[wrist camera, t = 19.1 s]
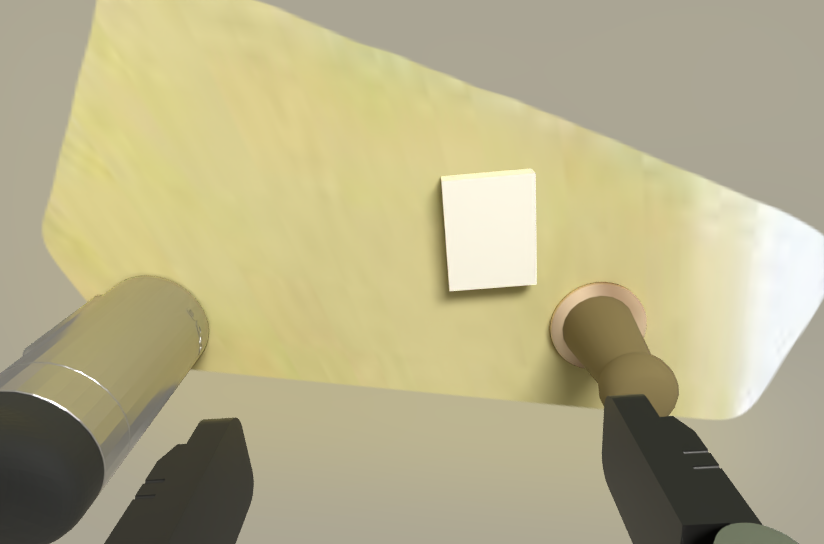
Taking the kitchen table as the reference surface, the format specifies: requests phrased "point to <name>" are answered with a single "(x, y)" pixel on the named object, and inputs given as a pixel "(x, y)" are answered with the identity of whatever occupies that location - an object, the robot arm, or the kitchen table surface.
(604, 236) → the kitchen table surface
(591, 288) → the disc
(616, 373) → the pepper shaker
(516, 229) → the tile
